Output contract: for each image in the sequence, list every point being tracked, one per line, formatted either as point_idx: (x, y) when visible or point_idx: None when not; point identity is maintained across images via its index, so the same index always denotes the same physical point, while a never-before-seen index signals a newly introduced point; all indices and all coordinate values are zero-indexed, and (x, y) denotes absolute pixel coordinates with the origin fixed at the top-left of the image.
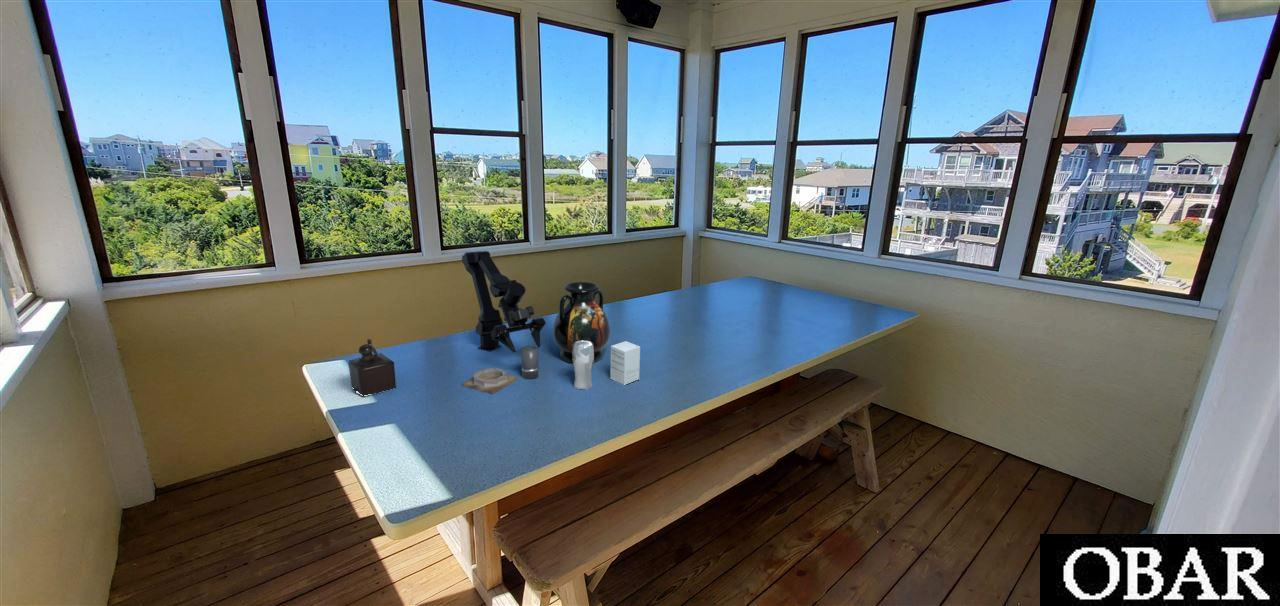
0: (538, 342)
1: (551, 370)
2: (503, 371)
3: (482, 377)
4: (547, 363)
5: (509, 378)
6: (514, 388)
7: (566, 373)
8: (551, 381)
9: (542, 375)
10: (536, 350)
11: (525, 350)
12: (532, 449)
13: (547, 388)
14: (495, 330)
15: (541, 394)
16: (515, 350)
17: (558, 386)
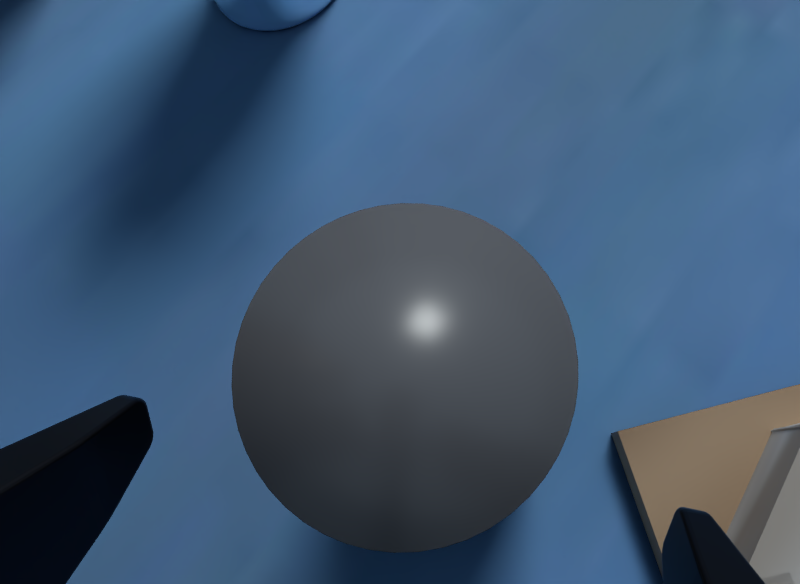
0: (80, 432)
1: (211, 372)
2: (784, 572)
3: None
4: (100, 552)
5: (710, 468)
6: (749, 283)
7: (180, 224)
8: (385, 180)
9: None
10: (356, 213)
11: (516, 348)
12: None
13: (504, 95)
14: None
15: (615, 40)
16: (691, 518)
17: (412, 72)
